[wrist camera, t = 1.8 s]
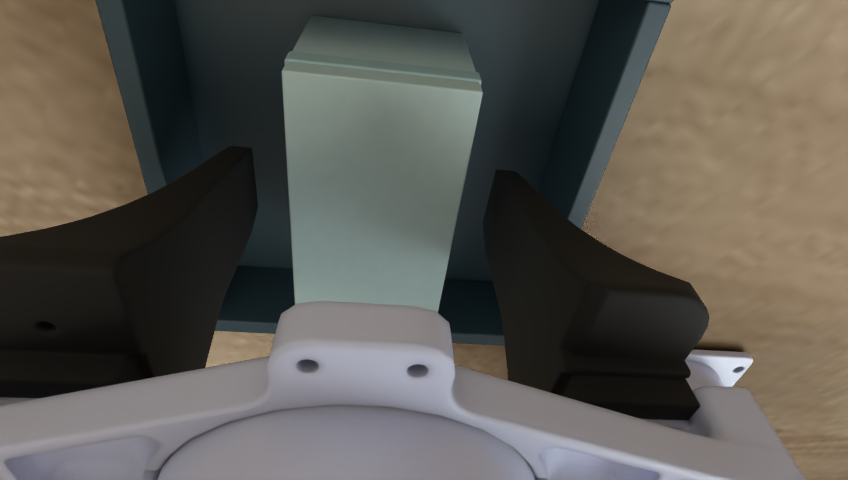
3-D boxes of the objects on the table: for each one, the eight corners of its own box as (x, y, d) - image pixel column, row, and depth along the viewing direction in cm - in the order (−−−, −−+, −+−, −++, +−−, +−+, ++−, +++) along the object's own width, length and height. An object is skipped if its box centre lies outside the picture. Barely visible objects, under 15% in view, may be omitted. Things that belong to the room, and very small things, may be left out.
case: (430, 241, 20) (436, 328, 16) (313, 233, 19) (293, 320, 16) (465, 31, 15) (486, 89, 11) (308, 12, 14) (278, 67, 11)
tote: (516, 285, 22) (533, 347, 19) (212, 265, 21) (183, 330, 18) (628, -50, 14) (684, -24, 11) (137, -120, 12) (64, -110, 10)
